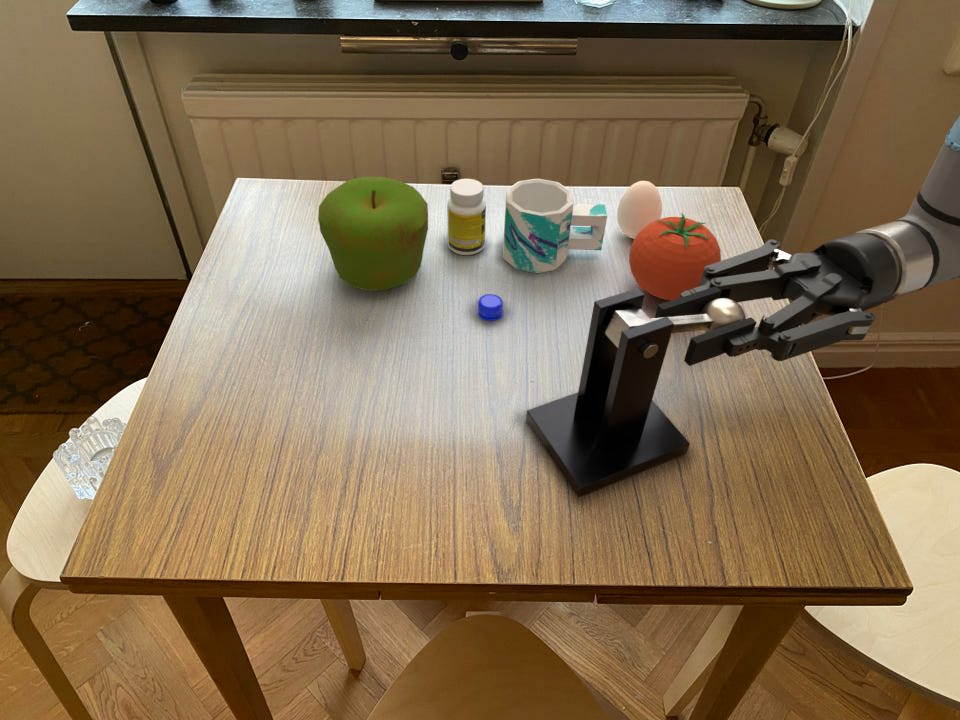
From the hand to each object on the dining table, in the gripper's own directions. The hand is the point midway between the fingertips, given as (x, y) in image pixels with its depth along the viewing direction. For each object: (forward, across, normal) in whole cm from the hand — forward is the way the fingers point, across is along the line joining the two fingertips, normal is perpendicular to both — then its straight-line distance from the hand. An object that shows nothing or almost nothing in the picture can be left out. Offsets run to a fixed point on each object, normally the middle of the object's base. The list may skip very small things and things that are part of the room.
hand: (673, 334), depth 62 cm
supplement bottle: (+4, +34, -12) cm, 36 cm away
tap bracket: (+5, 0, -11) cm, 13 cm away
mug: (-5, +28, -12) cm, 31 cm away
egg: (-17, +27, -12) cm, 34 cm away
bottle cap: (+7, +21, -12) cm, 25 cm away
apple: (+16, +33, -12) cm, 39 cm away
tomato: (-14, +16, -12) cm, 24 cm away
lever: (0, 0, -1) cm, 1 cm away
